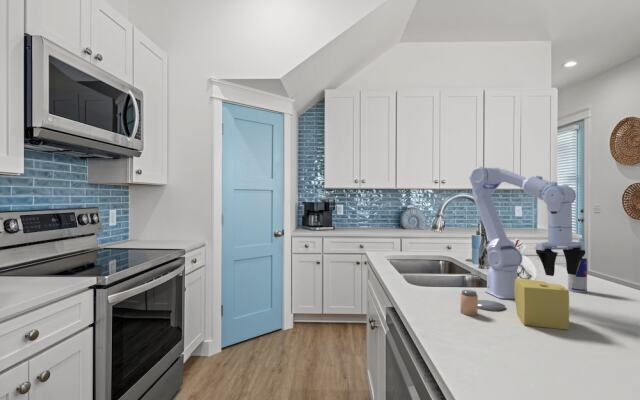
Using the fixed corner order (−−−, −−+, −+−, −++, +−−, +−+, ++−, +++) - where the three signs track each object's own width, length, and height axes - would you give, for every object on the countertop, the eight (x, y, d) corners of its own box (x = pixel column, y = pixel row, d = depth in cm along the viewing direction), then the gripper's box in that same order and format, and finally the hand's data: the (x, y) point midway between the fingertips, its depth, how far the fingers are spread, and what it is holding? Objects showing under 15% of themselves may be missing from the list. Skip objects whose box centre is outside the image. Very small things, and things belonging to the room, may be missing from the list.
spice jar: (457, 310, 100) (457, 289, 100) (472, 310, 101) (472, 289, 101) (465, 315, 96) (465, 293, 96) (480, 315, 96) (480, 293, 96)
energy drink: (590, 293, 121) (590, 258, 121) (572, 292, 122) (572, 257, 122) (581, 289, 126) (582, 256, 126) (565, 288, 127) (565, 255, 127)
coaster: (466, 302, 109) (466, 300, 109) (493, 301, 110) (493, 299, 110) (481, 311, 100) (481, 309, 100) (511, 310, 101) (511, 308, 101)
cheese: (557, 317, 95) (557, 280, 95) (571, 331, 85) (571, 290, 85) (514, 313, 99) (514, 277, 99) (522, 326, 88) (522, 286, 88)
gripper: (550, 228, 96) (551, 278, 95) (593, 227, 99) (594, 276, 98) (529, 227, 102) (530, 273, 102) (570, 226, 106) (571, 271, 105)
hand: (560, 274), depth 101 cm, fingers open, 7 cm apart
